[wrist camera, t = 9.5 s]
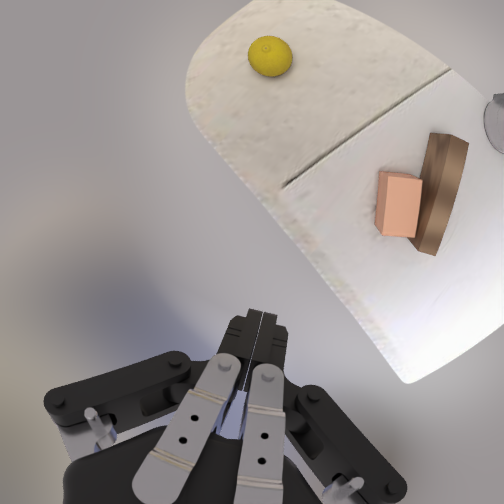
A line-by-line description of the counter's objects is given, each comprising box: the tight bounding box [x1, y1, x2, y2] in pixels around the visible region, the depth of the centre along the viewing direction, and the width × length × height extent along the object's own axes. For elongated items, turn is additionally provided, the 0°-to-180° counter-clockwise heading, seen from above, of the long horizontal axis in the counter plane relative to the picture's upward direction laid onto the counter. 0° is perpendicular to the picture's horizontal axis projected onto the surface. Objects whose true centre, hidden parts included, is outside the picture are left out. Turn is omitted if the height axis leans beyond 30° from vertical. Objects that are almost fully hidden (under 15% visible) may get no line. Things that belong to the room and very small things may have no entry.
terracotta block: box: [375, 171, 422, 238], centre depth 36 cm, size 8×5×5 cm, turn 2°
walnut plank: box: [407, 133, 469, 256], centre depth 33 cm, size 16×3×7 cm, turn 171°
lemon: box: [248, 36, 292, 76], centre depth 30 cm, size 6×6×8 cm
